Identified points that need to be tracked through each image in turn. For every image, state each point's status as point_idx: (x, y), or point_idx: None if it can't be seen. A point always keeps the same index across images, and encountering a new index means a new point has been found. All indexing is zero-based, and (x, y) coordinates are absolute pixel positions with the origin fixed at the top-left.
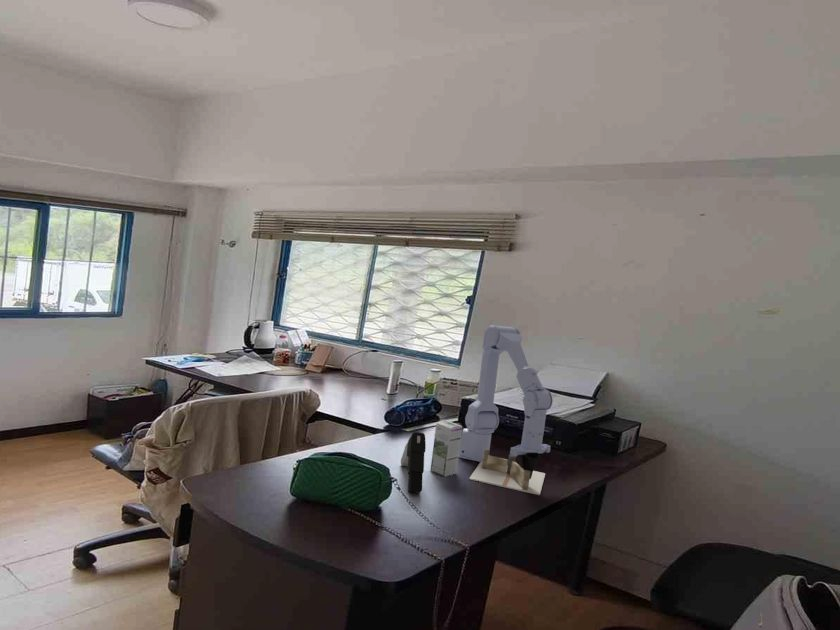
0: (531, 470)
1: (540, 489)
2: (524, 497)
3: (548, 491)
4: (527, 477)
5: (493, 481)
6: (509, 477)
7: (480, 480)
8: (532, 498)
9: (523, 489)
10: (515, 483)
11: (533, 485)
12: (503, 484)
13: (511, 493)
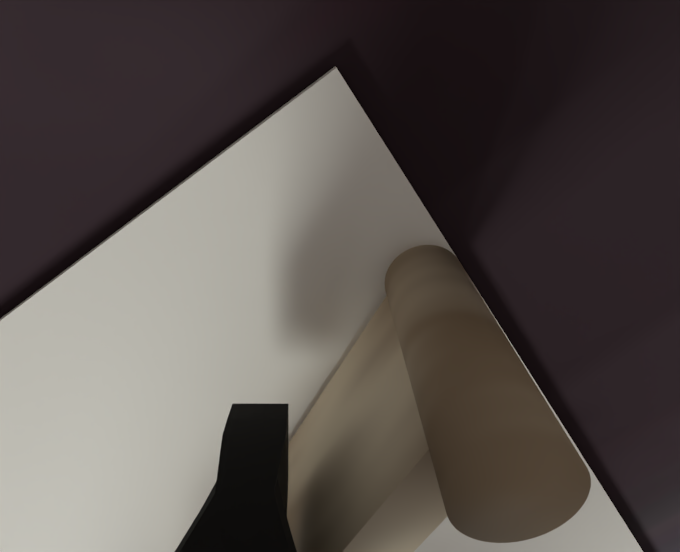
0: (260, 525)
1: (176, 201)
2: (639, 102)
3: (48, 134)
4: (514, 362)
5: None
6: None
7: (638, 550)
8: (566, 19)
9: None
10: None
11: (172, 335)
12: None
13: (653, 266)
